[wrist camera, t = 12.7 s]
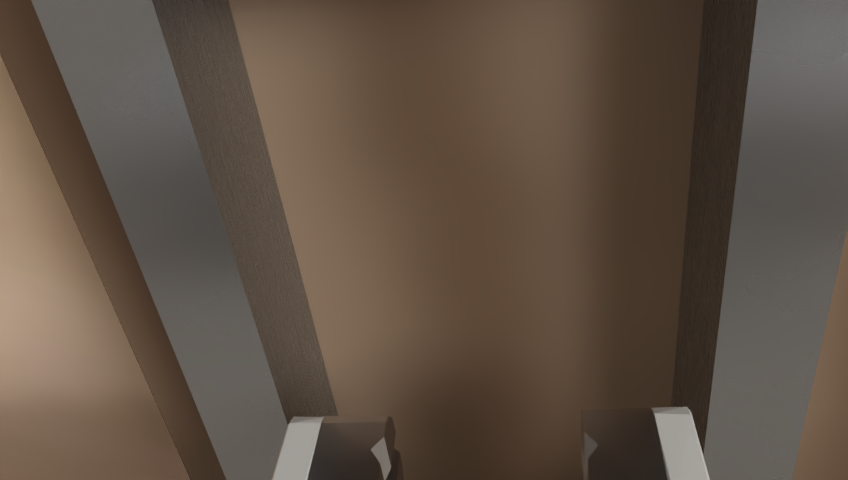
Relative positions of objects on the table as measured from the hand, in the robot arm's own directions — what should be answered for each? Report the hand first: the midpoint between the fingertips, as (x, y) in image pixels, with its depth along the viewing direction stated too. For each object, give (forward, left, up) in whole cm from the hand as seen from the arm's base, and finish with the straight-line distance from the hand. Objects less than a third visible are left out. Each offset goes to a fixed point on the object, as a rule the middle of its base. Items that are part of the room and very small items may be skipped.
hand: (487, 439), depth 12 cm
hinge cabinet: (0, 0, -10) cm, 10 cm away
